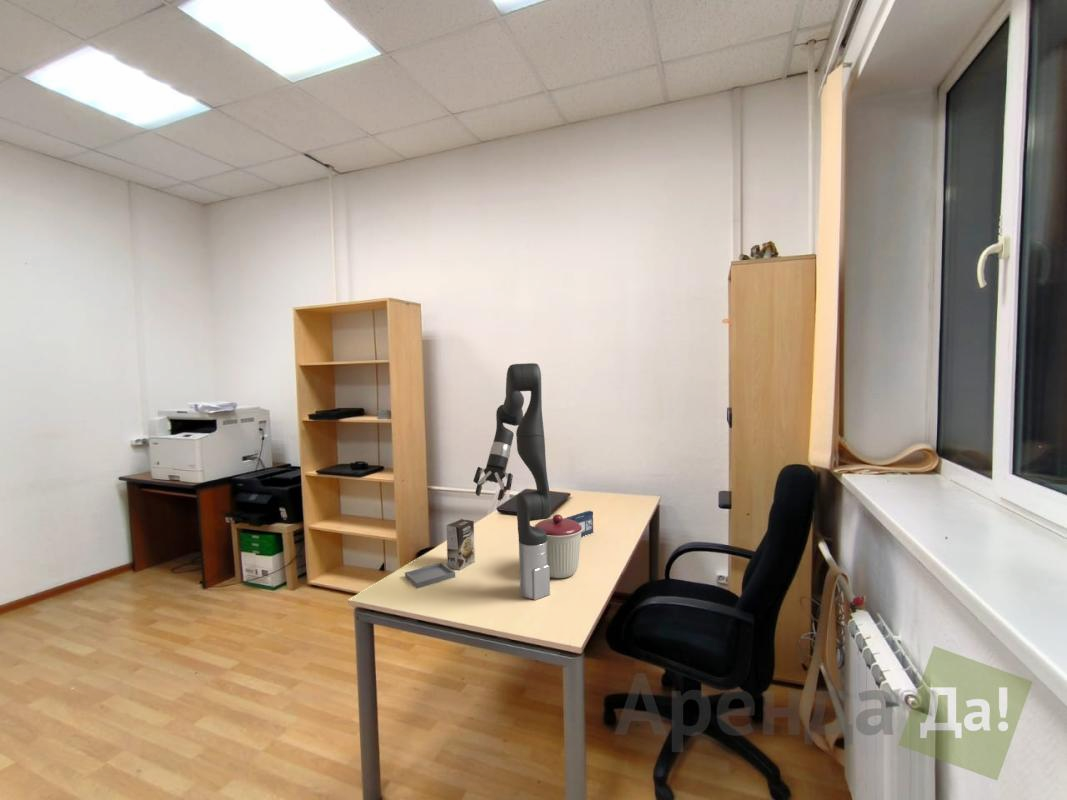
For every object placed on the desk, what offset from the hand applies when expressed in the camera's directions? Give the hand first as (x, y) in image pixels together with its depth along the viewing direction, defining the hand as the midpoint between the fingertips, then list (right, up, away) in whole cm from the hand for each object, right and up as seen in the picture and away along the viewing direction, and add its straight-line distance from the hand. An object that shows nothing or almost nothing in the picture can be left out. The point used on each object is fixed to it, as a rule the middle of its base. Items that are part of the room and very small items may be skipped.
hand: (488, 497), depth 172 cm
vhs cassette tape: (+36, -24, +30) cm, 53 cm away
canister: (+26, -26, -5) cm, 37 cm away
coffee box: (-11, -26, +4) cm, 29 cm away
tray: (-20, -27, -6) cm, 34 cm away
